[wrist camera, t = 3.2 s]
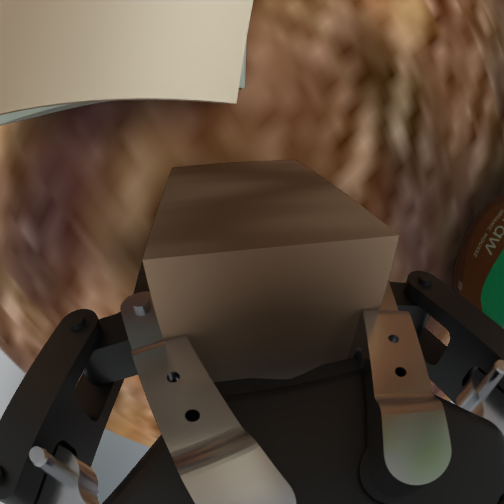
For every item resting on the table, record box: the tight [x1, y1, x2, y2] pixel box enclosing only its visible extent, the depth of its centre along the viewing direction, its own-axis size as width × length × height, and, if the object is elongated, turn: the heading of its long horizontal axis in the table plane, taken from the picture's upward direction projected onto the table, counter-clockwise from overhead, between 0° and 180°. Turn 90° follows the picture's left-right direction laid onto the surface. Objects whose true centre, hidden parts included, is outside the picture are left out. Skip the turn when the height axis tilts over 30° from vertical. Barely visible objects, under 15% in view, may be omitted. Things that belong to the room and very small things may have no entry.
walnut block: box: [143, 160, 399, 382], centre depth 10 cm, size 5×7×7 cm
